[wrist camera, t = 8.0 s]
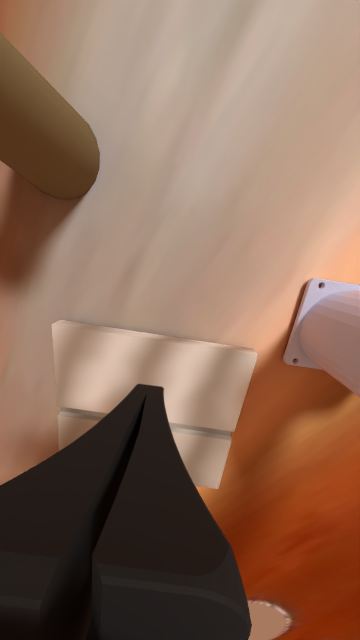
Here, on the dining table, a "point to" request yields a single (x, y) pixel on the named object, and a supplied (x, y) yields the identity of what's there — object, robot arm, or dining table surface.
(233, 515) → the dining table surface
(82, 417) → the laid board
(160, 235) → the dining table surface
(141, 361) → the board
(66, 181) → the cork
